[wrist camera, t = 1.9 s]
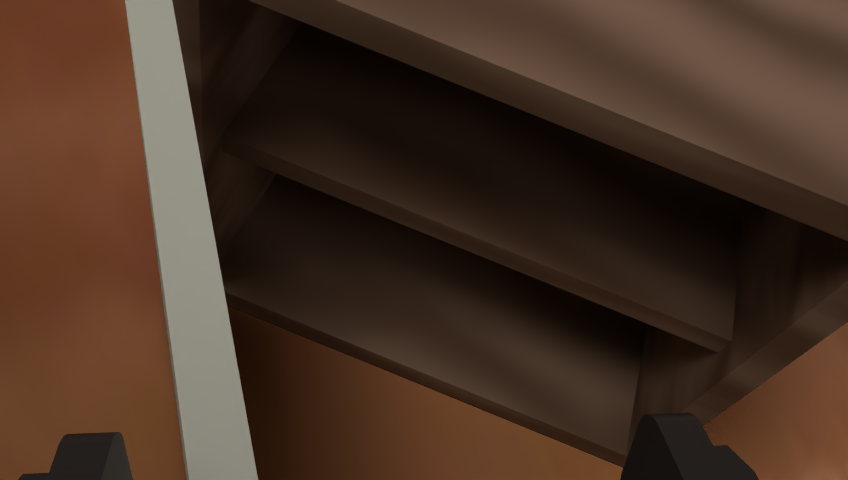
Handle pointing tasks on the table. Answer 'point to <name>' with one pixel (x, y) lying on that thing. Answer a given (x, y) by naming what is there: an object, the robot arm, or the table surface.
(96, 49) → the table surface
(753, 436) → the table surface
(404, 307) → the walnut cabinet
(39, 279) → the table surface
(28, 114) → the table surface
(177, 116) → the sage door
